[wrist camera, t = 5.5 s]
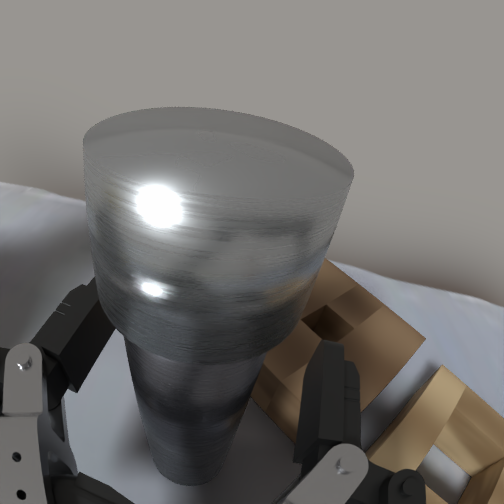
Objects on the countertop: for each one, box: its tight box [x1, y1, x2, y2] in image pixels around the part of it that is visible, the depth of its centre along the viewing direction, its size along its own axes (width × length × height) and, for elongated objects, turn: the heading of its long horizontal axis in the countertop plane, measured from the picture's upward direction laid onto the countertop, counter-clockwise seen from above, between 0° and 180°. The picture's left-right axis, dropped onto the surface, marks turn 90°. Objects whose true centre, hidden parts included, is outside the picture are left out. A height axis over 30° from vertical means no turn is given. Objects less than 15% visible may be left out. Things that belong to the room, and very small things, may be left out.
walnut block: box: [251, 258, 426, 444], centre depth 19 cm, size 10×10×4 cm
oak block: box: [365, 365, 504, 504], centre depth 12 cm, size 10×10×4 cm
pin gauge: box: [83, 107, 354, 486], centre depth 9 cm, size 4×4×15 cm
